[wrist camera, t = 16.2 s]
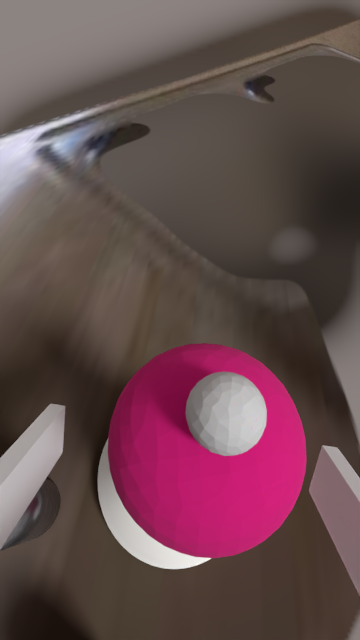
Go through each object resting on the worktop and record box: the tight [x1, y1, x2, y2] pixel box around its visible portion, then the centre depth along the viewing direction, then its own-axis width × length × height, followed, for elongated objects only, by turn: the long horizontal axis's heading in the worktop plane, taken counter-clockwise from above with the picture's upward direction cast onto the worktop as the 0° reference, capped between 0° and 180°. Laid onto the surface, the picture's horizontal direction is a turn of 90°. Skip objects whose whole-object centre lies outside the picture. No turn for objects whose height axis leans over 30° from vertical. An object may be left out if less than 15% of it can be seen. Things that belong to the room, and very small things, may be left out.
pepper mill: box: [108, 343, 306, 558], centre depth 14 cm, size 7×7×20 cm
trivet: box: [97, 439, 211, 569], centre depth 23 cm, size 12×12×1 cm
